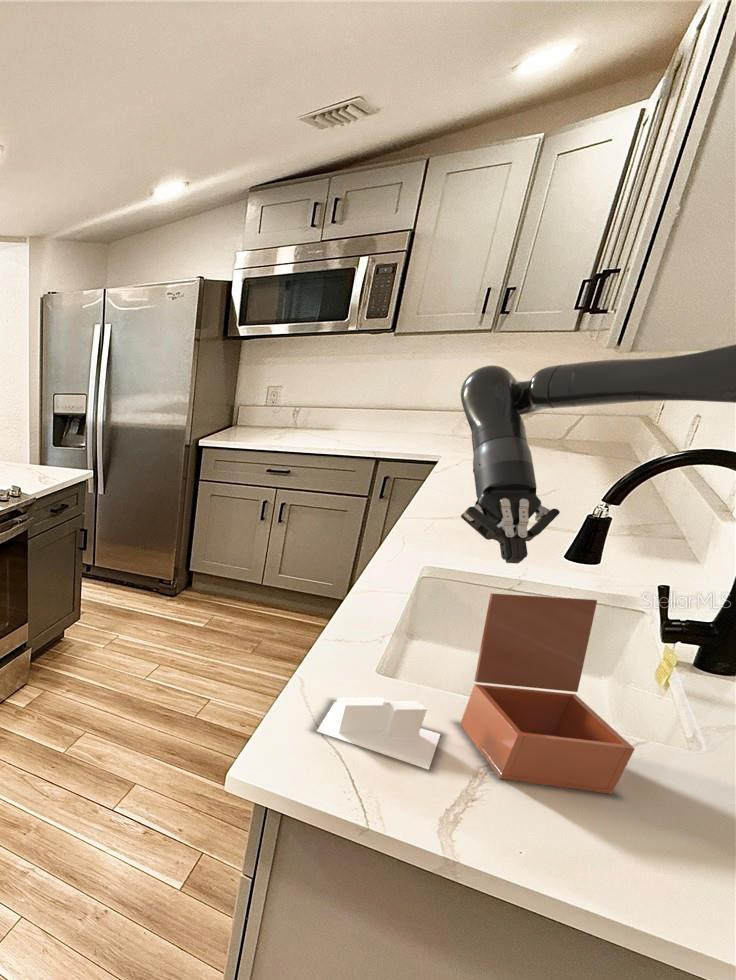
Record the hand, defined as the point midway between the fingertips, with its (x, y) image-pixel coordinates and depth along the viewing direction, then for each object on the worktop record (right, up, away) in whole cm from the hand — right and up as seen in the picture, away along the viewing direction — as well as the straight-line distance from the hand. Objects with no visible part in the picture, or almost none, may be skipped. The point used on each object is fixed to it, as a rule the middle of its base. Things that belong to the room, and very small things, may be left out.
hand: (515, 561), depth 100 cm
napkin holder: (-23, -28, -1) cm, 36 cm away
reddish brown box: (-5, -30, -8) cm, 31 cm away
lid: (-3, -13, -7) cm, 15 cm away
